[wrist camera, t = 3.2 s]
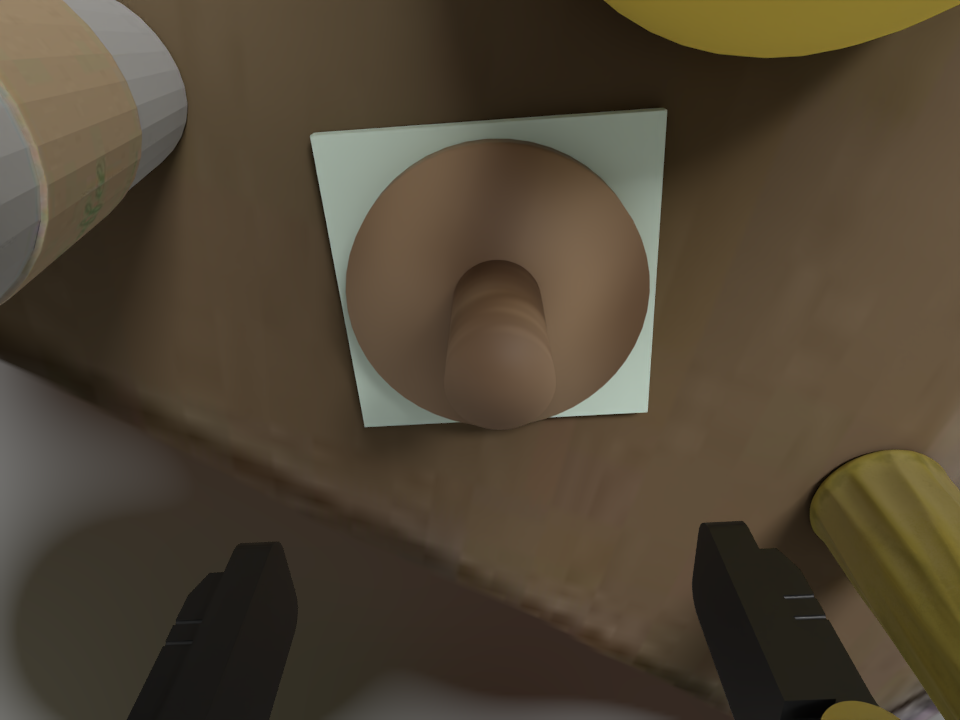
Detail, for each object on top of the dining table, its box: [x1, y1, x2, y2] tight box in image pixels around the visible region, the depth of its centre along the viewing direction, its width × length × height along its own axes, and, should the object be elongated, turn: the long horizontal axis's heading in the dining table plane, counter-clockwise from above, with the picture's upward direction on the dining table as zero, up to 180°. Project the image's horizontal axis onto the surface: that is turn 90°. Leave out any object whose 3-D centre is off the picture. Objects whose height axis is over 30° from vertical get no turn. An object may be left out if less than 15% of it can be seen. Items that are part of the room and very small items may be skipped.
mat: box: [310, 108, 667, 427], centre depth 25 cm, size 12×12×1 cm
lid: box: [346, 139, 650, 430], centre depth 22 cm, size 11×11×7 cm
